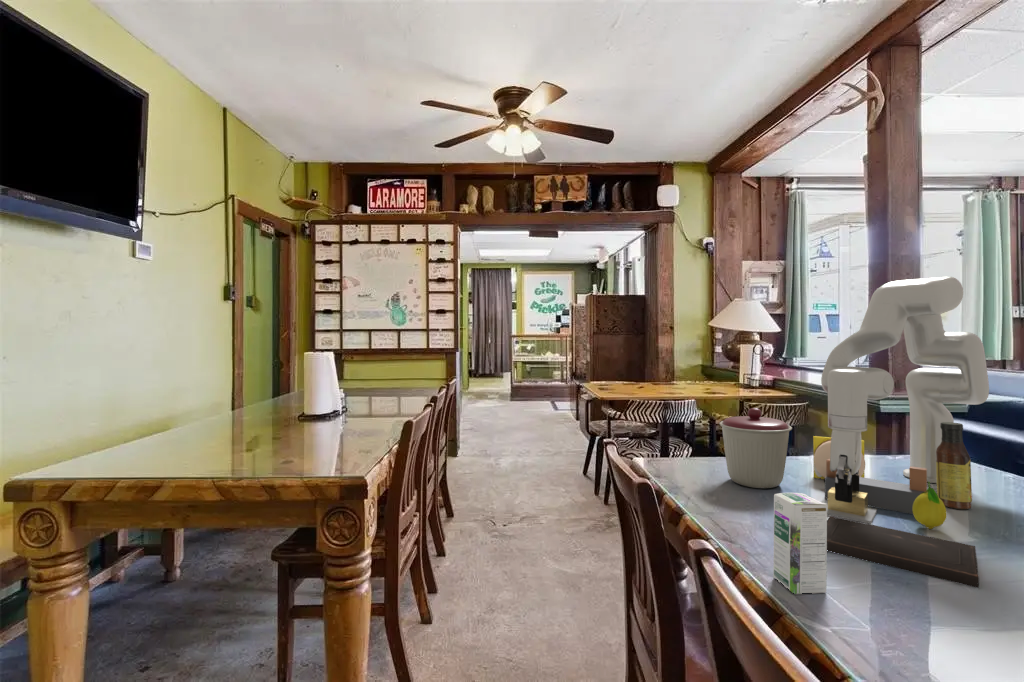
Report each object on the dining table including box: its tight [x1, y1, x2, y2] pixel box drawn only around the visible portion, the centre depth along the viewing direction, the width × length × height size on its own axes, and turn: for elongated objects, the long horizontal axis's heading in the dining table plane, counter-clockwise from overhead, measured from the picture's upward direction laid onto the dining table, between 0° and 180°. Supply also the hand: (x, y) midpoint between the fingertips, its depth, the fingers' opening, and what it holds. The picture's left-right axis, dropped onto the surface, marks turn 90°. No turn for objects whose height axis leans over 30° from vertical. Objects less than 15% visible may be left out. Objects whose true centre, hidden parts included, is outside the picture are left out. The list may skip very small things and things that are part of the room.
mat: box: [823, 499, 878, 525], centre depth 113 cm, size 10×10×1 cm
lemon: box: [912, 482, 948, 530], centre depth 103 cm, size 7×6×10 cm
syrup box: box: [772, 492, 828, 595], centre depth 80 cm, size 6×6×14 cm
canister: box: [719, 407, 793, 489], centre depth 136 cm, size 18×18×21 cm
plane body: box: [824, 459, 928, 515], centre depth 119 cm, size 7×20×10 cm, turn 47°
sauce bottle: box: [936, 422, 973, 510], centre depth 117 cm, size 7×6×20 cm
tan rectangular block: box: [827, 487, 869, 516], centre depth 113 cm, size 5×7×4 cm
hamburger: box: [812, 435, 866, 480], centre depth 137 cm, size 12×8×12 cm
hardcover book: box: [827, 515, 980, 589], centre depth 92 cm, size 16×23×2 cm
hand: (847, 495), depth 113 cm, fingers open, 9 cm apart
